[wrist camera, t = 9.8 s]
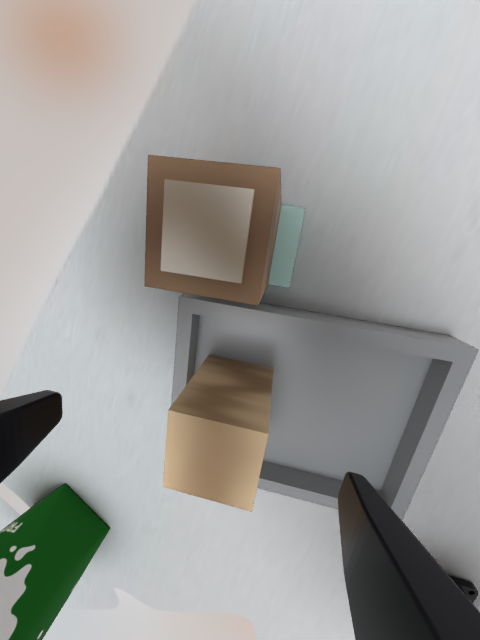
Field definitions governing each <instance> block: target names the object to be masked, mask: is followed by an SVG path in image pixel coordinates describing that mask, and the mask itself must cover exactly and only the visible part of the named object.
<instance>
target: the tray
mask: <svg viewBox="0 0 480 640" xmlns="http://www.w3.org/2000/svg"><path fill="white" fill-rule="evenodd" d="M477 353H478V349H476V348H474V347H472V346H470V345H468V344H466V343H464V342H462V341H460V340H458V339H456V338H454V337H452V336H449V335H444V334H438V333H432V332H426V331H420V330H415V329H409V328H403V327H397V326H392V325H386V324H380V323H374V322H369V321H363V320H357V319H351V318H346V317H340V316H334V315H328V314H322V313H317V312H311V311H305V310H299V309H294V308H288V307H282V306H276V305H271V304H265V303H259V305H253V304H247V303H241V302H235V301H229V300H223V299H217V298H211V297H206V296H200V295H194V294H188V293H186V294H184V295H182V296H179V306H178V320H177V334H176V348H175V362H174V376H173V389H172V403H171V406H172V404H173V403H174V402H175V400H176V399H177V397H178V396H179V395H180V393H181V392H182V391H183V389H184V388H185V386H186V385H187V384H188V382H189V381H190V380H191V378H192V377H193V376H194V374H195V373H196V371H197V370H198V369H199V367H200V366H201V365H202V363H203V362H204V360H205V359H206V358H207V356H208V355H213V356H218V357H223V358H227V359H232V360H237V361H242V362H247V363H252V364H257V365H262V366H267V367H271V368H274V371H273V383H272V396H271V408H270V420H269V433H268V438H267V443H266V448H265V453H264V457H263V462H262V467H261V472H260V476H259V481H258V486H257V488H260V489H263V490H267V491H271V492H275V493H278V494H282V495H286V496H290V497H294V498H297V499H301V500H305V501H309V502H312V503H316V504H320V505H324V506H327V507H331V508H335V509H338V494H339V491H340V488H341V485H342V482H343V479H344V476H345V474H346V473H347V472H349V471H350V472H354V473H357V474H361V475H363V476H364V477H365V478H366V479H367V480H368V481H369V483H370V484H371V485H372V486H373V487H374V488H375V490H376V491H377V492H378V493H379V494H380V496H381V497H382V498H383V499H384V500H385V501H386V503H387V504H388V505H389V506H390V507H391V508H392V510H393V511H394V512H395V513H396V514H397V516H398V517H399V518H400V519H401V520H402V519H403V517H404V515H405V513H406V510H407V508H408V506H409V504H410V502H411V499H412V497H413V495H414V493H415V490H416V488H417V486H418V484H419V482H420V479H421V477H422V475H423V473H424V470H425V468H426V466H427V464H428V462H429V459H430V457H431V455H432V453H433V450H434V448H435V446H436V444H437V442H438V439H439V437H440V435H441V433H442V430H443V428H444V426H445V424H446V422H447V419H448V417H449V415H450V413H451V410H452V408H453V406H454V404H455V402H456V399H457V397H458V395H459V393H460V390H461V388H462V386H463V384H464V381H465V379H466V377H467V375H468V373H469V370H470V368H471V366H472V364H473V361H474V359H475V357H476V355H477Z"/></svg>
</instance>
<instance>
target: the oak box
mask: <svg viewBox="0 0 480 640" xmlns="http://www.w3.org/2000/svg"><path fill="white" fill-rule="evenodd" d="M273 371H274V368H271V367H267V366H262V365H257V364H252V363H247V362H242V361H237V360H232V359H227V358H223V357H218V356H213V355H208V356H207V358H206V359H205V360H204V362H203V363H202V365H201V366H200V367H199V369H198V370H197V371H196V373H195V374H194V376H193V377H192V378H191V380H190V381H189V382H188V384H187V385H186V386H185V388H184V389H183V391H182V392H181V393H180V395H179V396H178V397H177V399H176V400H175V402H174V403H173V404H172V406H171V407H170V408H169V410H168V421H167V435H166V450H165V465H164V479H163V487H165V488H169V489H172V490H176V491H179V492H183V493H187V494H190V495H194V496H197V497H201V498H205V499H208V500H212V501H215V502H219V503H222V504H226V505H230V506H233V507H237V508H240V509H244V510H248V511H251V512H252V510H253V505H254V500H255V495H256V491H257V486H258V481H259V476H260V472H261V467H262V462H263V457H264V453H265V448H266V443H267V438H268V433H269V420H270V408H271V396H272V383H273Z"/></svg>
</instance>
